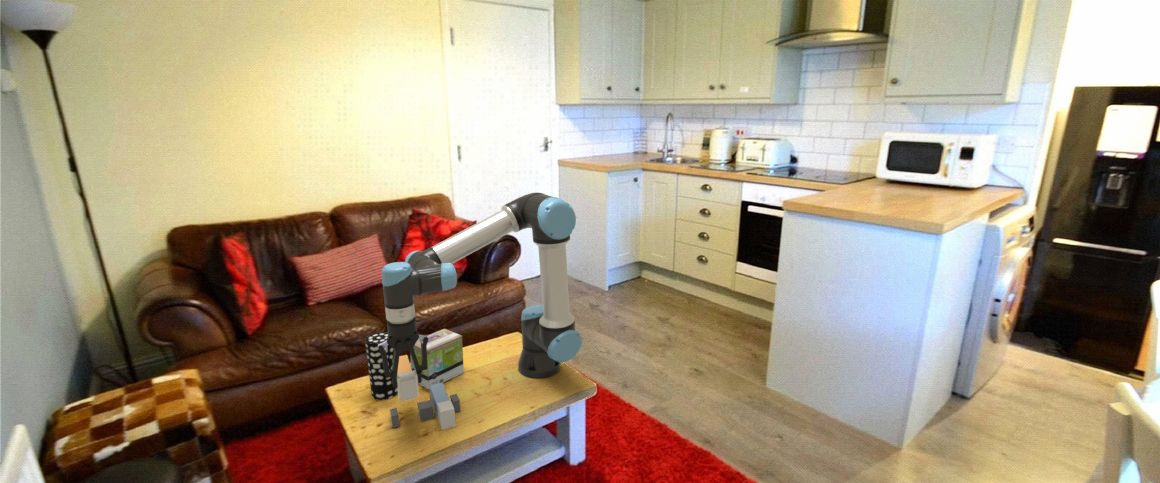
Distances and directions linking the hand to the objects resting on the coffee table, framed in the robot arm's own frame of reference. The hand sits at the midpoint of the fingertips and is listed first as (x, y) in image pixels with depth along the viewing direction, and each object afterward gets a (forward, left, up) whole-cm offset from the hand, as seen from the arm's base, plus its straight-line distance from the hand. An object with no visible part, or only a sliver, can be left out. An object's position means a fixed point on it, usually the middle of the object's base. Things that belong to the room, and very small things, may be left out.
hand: (408, 394), depth 151 cm
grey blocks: (-5, -7, -12) cm, 15 cm away
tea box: (-13, -29, -13) cm, 34 cm away
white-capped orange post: (0, -6, 0) cm, 6 cm away
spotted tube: (+5, -26, -13) cm, 29 cm away
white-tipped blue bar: (-10, -7, -13) cm, 17 cm away
